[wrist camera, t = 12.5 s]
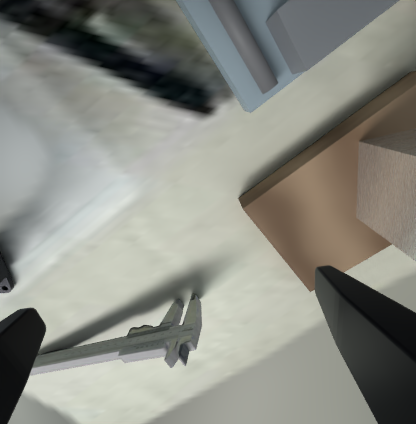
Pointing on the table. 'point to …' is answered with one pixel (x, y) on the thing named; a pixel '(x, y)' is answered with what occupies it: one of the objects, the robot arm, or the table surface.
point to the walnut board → (328, 190)
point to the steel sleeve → (389, 188)
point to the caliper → (135, 343)
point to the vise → (274, 38)
